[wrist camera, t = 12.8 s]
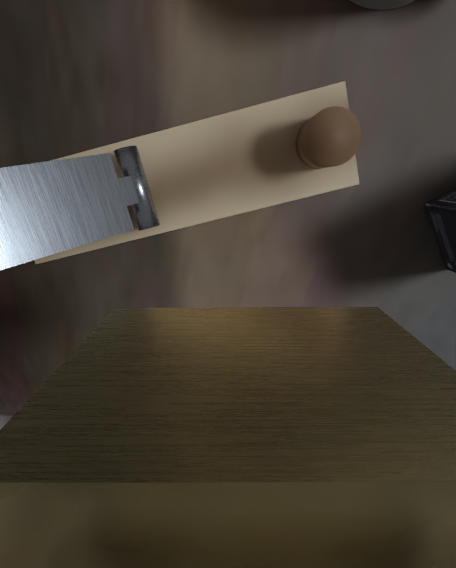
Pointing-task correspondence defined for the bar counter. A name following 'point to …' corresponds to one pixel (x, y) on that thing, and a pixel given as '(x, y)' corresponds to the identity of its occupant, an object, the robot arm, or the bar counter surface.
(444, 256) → the small box
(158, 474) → the olive cube-like block
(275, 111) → the wooden block plane
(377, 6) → the coffee mug
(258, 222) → the bar counter surface
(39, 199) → the lever
